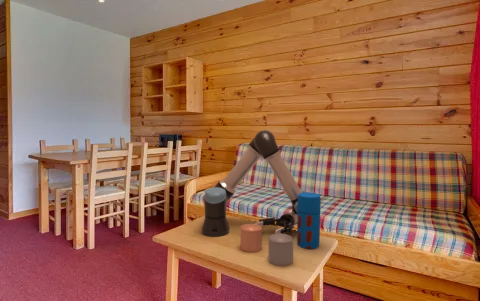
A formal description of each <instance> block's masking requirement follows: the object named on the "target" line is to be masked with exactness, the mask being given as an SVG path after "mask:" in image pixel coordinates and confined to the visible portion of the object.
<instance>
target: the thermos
mask: <svg viewBox="0 0 480 301" xmlns="http://www.w3.org/2000/svg"><path fill="white" fill-rule="evenodd" d="M321 200H322V199H321V195H320V194H319V193H315V192H306V191H305V193H299V194H298V218H297V224H296V226H297V228H296V229H297V231H296V232H297V233H296V244H297V246H298V247H299V248H302V249H305V250H315V249H319V246H320V234H321V206H322V205H321V203H322V202H321Z"/></svg>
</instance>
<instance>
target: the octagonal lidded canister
mask: <svg viewBox="0 0 480 301" xmlns="http://www.w3.org/2000/svg"><path fill="white" fill-rule="evenodd" d="M240 250H242V251H243V252H247V253H249V252H250V253H257V252H259V251H261V250H263V229H262V227H261V226H260V225H257V224H255V223H244V224H242V225H240Z"/></svg>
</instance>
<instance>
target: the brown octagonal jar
mask: <svg viewBox="0 0 480 301" xmlns="http://www.w3.org/2000/svg"><path fill="white" fill-rule="evenodd" d="M267 252H268V257H267V258H268V262H269V263H271V264H273V265H275V266H278V267H280V266H281V267H282V266H283V267H285V266H289V265H291V264H292V263H293V262H294V240H293V236H291V235H289V234H287V233H283V234H275V233H274V234H271V235H269V237H268V251H267Z"/></svg>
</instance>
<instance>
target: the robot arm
mask: <svg viewBox="0 0 480 301" xmlns="http://www.w3.org/2000/svg"><path fill="white" fill-rule="evenodd" d="M280 151H281V150H280V148H279V146H278V144H277V142H276V137H275V135H274V134H273V133H272V132H271V131H270V130H265V129H264V130H260V131H259V132H257V133H256V134H255V136H254V137H253V138H252V140H251V141H250V142H249V143H248V149H247V150H246V151H245V153H244V154H243V155H242V157H241V158H240V159H239V160H238V161H237V162H236V164H235V165H234V166H233V167H232V168H231V170H230V171H229V173H227V175H226V176H225V177H224V179H220V180H219V181H218V182H217V183H216V184H215V185H214V187H210V188H208V189H206V190H205V191H204V195H203V198H204V220H203V223H202V227H201V234H202V235H204V236H207V237H221V236H225V235H227V234H229V233H230V227H229V224H228V223H229V222H228V219H227V204H228V202H229V201H230V200H231V198H232V197H233V196H234V195H235V193H236V188H237V187H238V186H239V184H240V183H241V182H242V181H243V180H244V178H245V177H246V176H247V175H248V173H249V172H250V171H251V170H252V168H253V167H254V166H255V165H256V164H257V163H258V161H259V160H260V159H261V158H263V160H265V161H267V163H268V165H269V167H270V168H271V170H272V172H273V173H274V175H275V177H276V178H277V180H278V182H279V184H280V185H281V187H282V188H283V190H284V192H285V194H286V196H287V197H288V199H289V200H290V202H291V203H290V204H291V211H290V212H287V213H284V214H282V215H280V217H279V218H276V217H274V216H273V217H270V218H269V217H268V218H267V217H266V218H260V219H258V222H256V223H254V224H257V225H260V226H261V227H264V226H274V227H280V228H278V229H276V230H275V232H274V234H292V232H293V229H294V228H295V226H297V218H298V194H299V193H305V192H306V190H305V189H302V188H300V186H299V185H298V183H297V182H296V179H295V177H294V176H293V175H292V174H293V173H291V171H290V170H289V168H288V166H287V164H286V162H285V160H284V158H282V155H281V154H280Z"/></svg>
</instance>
